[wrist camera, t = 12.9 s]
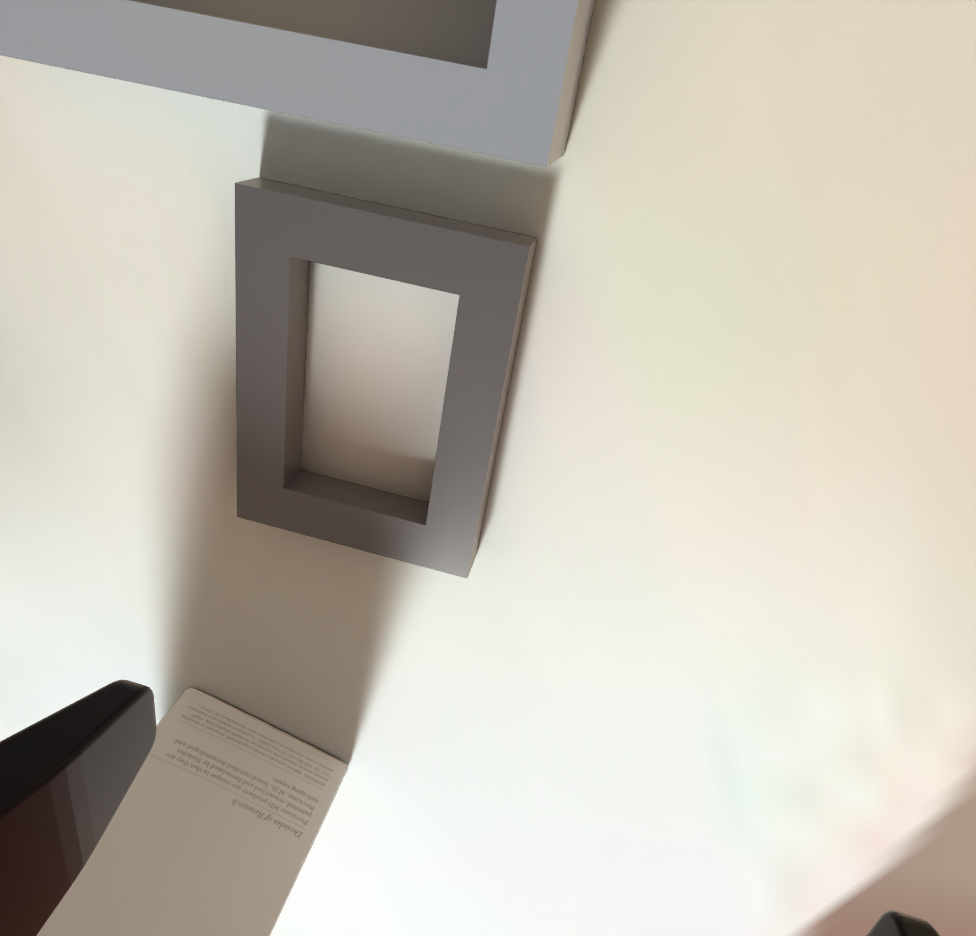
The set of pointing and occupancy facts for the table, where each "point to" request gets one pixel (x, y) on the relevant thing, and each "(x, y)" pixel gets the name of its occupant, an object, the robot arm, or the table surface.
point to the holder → (281, 365)
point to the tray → (338, 60)
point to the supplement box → (204, 830)
